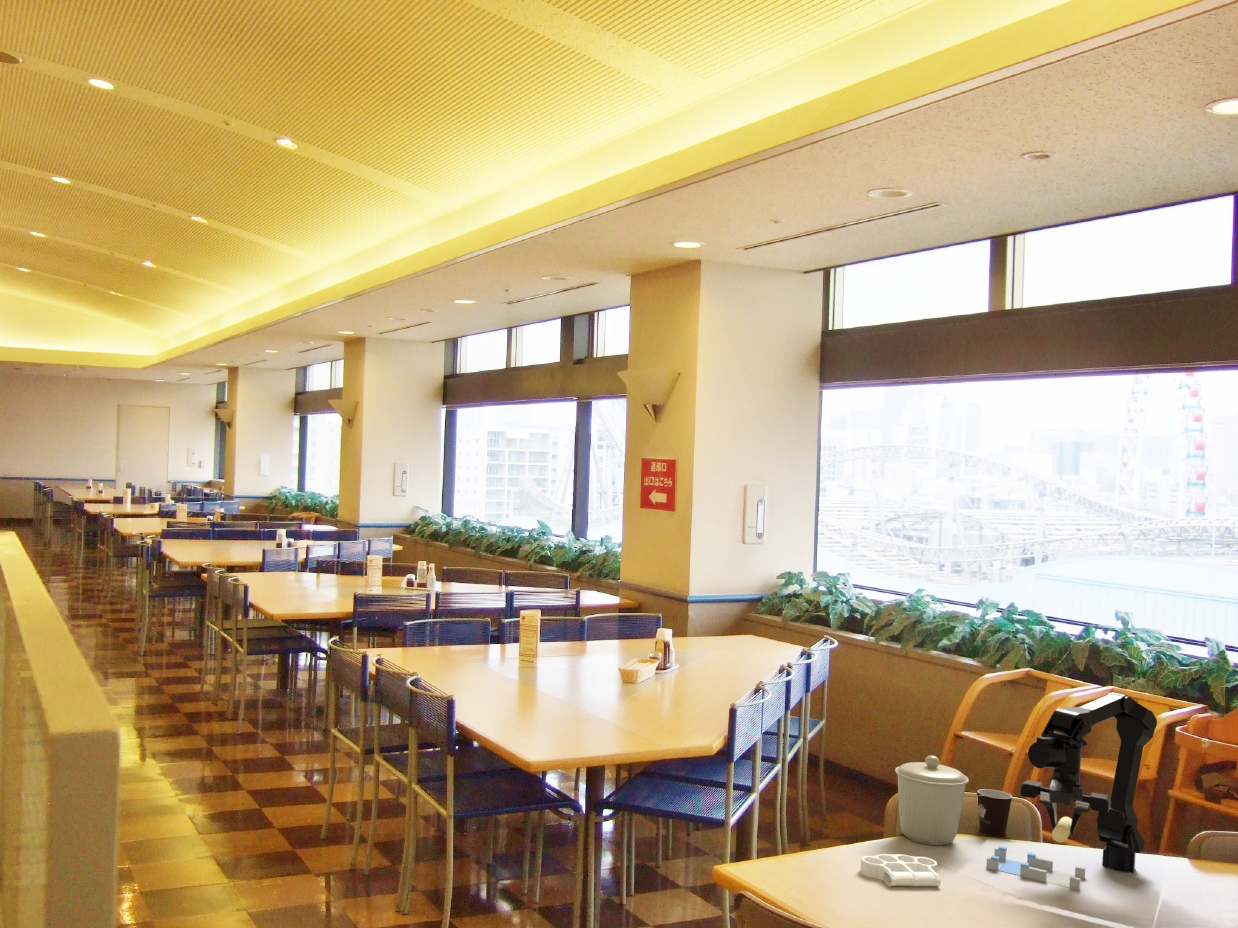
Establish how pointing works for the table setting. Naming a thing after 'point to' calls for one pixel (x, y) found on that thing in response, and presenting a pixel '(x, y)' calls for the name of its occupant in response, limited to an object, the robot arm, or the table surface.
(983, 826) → the coffee mug
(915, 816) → the canister
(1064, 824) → the cream capsule cylinder
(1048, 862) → the toy block layout
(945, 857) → the table surface
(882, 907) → the table surface
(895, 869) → the white brass knuckles
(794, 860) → the table surface
